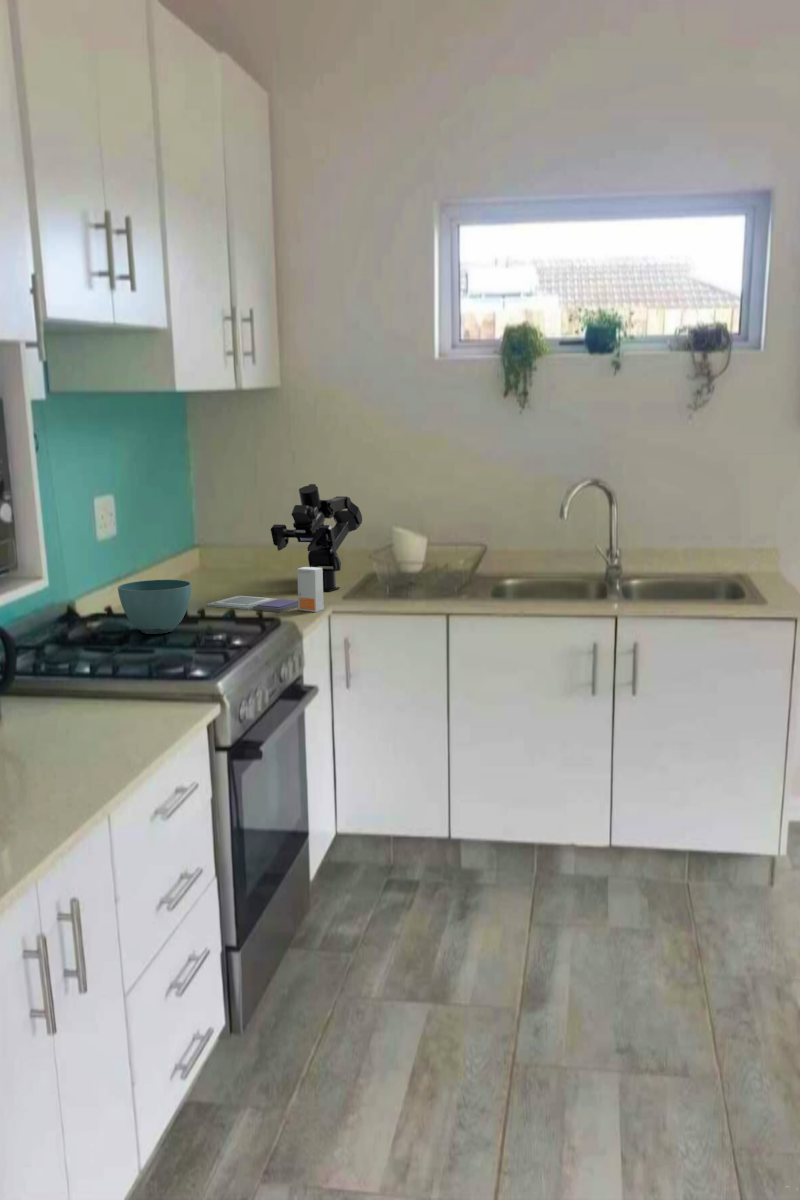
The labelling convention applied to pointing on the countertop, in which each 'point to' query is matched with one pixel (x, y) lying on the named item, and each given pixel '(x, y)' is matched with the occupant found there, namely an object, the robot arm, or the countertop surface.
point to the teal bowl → (155, 602)
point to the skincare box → (310, 589)
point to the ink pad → (277, 605)
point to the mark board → (241, 602)
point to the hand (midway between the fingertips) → (293, 549)
